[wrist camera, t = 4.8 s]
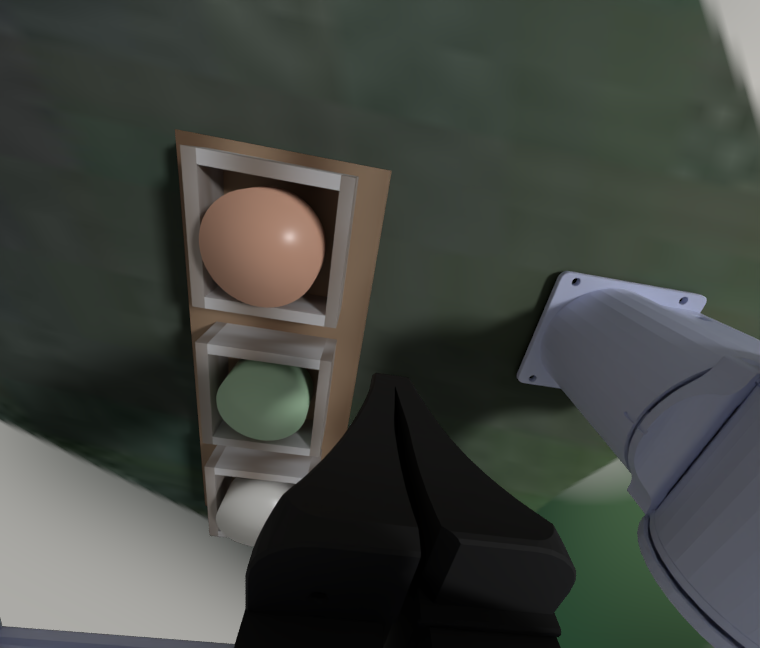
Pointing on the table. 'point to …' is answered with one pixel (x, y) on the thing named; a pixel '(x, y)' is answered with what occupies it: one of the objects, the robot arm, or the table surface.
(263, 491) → the grey button
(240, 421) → the sage button
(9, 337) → the table surface
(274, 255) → the terracotta button
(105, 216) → the table surface
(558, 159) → the table surface
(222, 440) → the button board
